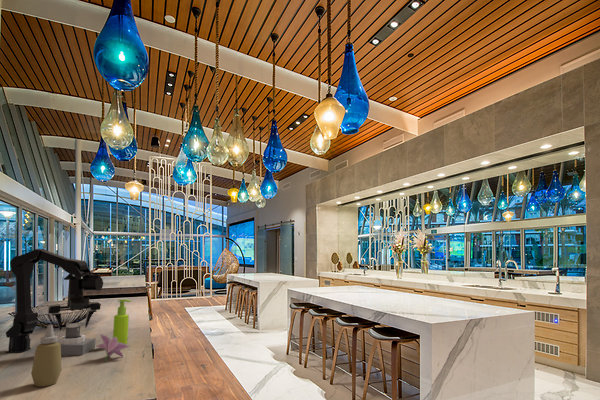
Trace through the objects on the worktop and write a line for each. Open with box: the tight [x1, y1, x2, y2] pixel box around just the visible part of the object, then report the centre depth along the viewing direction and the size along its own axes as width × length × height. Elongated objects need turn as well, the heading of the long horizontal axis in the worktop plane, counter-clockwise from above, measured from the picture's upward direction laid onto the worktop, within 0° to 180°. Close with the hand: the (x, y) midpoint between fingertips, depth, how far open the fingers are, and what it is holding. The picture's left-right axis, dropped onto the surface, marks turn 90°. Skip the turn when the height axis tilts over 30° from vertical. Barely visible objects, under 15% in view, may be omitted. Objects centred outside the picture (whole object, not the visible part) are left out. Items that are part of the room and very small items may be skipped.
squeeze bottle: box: [30, 324, 62, 387], centre depth 125 cm, size 8×8×18 cm
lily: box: [95, 333, 130, 363], centre depth 152 cm, size 12×12×10 cm
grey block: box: [64, 322, 81, 339], centre depth 164 cm, size 5×5×7 cm
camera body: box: [57, 334, 97, 357], centre depth 163 cm, size 14×12×6 cm
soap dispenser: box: [112, 299, 132, 345], centre depth 174 cm, size 6×7×20 cm
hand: (73, 328), depth 164 cm, fingers open, 9 cm apart
